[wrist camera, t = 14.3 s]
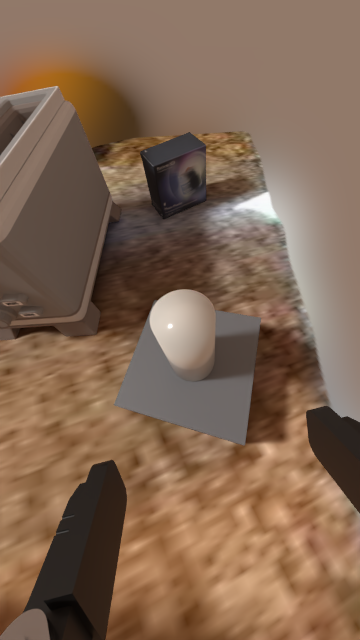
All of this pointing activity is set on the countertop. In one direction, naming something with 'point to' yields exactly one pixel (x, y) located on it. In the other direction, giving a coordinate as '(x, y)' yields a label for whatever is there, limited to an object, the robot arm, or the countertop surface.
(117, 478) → the robot arm
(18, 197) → the toaster
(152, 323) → the beige piece
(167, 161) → the small box
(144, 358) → the plinth
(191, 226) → the countertop surface
